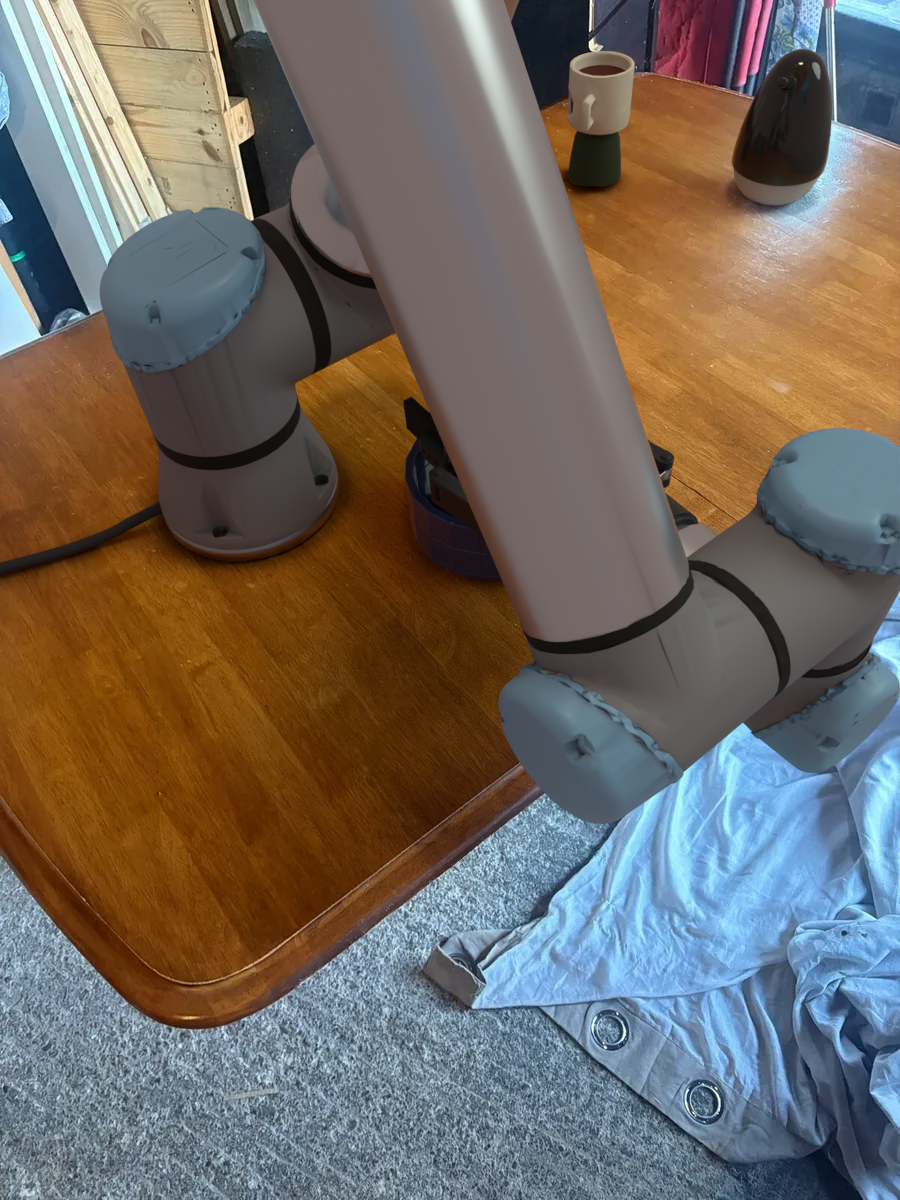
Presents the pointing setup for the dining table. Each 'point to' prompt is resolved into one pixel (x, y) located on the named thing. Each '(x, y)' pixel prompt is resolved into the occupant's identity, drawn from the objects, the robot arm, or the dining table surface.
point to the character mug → (598, 115)
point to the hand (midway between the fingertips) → (454, 389)
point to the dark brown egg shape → (785, 131)
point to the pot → (443, 527)
